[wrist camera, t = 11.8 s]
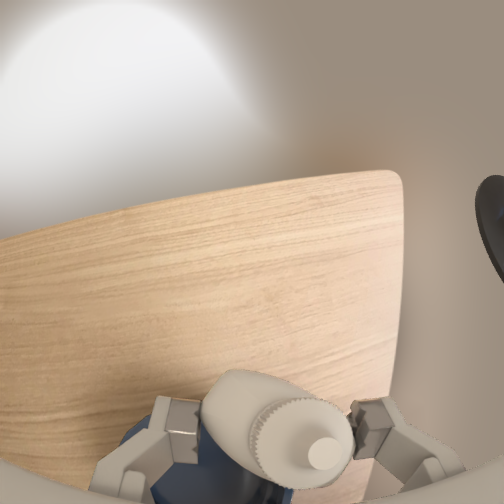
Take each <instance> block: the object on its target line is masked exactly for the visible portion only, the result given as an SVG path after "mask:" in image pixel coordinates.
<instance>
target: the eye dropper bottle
mask: <svg viewBox="0 0 504 504" xmlns="http://www.w3.org/2000/svg"><path fill="white" fill-rule="evenodd" d="M200 420H201V421H202V423H203V425H204V427H205V428H206V430H207V431H208V433H209V434H210V436H211V437H212V438H213V440H214V441H215V442H216V443H217V444H218V445H219V447H220V448H221V449H222V450H223V451H224V452H225V453H226V454H227V455H228V456H230V457H231V458H232V459H233V460H234V461H236V462H237V463H238V464H240V465H241V466H242V467H244V468H245V469H247V470H249V471H250V472H252V473H254V474H256V475H258V476H260V477H262V478H264V479H267V480H269V481H272V482H274V483H277V484H278V485H279V486H283V487H284V488H285V487H287V488H288V489H291V488H292V489H293V490H295V489H298V490H301V489H303V490H305V489H307V488H308V489H311V488H323V487H326V486H329V485H331V484H333V483H334V482H335V481H336V480H337V479H338V478H339V476H340V475H341V474H342V472H343V471H344V469H345V468H346V466H347V465H348V463H349V461H350V460H351V458H352V456H353V454H354V451H355V447H356V444H355V439H354V436H353V435H352V433H353V431H351V429H352V427H350V423H349V422H348V419H346V415H343V411H340V409H339V408H336V405H332V403H328V401H323V399H319V398H318V397H316V396H315V395H313V394H311V393H310V392H308V391H307V390H305V389H303V388H301V387H299V386H297V385H295V384H293V383H290V382H288V381H285V380H283V379H280V378H277V377H274V376H271V375H267V374H264V373H259V372H255V371H249V370H241V369H233V370H228V371H226V372H225V373H223V374H222V375H221V376H220V377H219V379H218V380H217V381H216V382H215V384H214V385H213V386H212V388H211V389H210V391H209V392H208V393H207V395H206V396H205V398H204V399H203V401H202V402H201V405H200Z"/></svg>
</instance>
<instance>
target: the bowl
mask: <svg viewBox="0 0 504 504" xmlns="http://www.w3.org/2000/svg"><path fill="white" fill-rule="evenodd" d="M151 415H152V414H151ZM151 415H148V416H146V417H145V418H144V419H142V420H141V421H140V422H139V423H138V424H136V425H135V426H134V427H133V428H131V429H130V430H129V431H128V432H127V433H126V434H125V436H124V438H123V440H122V441H121V443H120V445H122V444H123V443H125V442H126V441H127V440H129V439H130V438H131V437H133V436H134V435H135V434H137V433H138V432H139V431H141V430H142V429H143V428H145V429H148V426H149V422H150V418H151ZM120 445H119V446H120ZM119 446H118V447H119ZM150 491H151V494H152V496H153V499H154V502H155V504H291V502H292V497H293V492H294V490H293V489H292V488H291V489H288V488H287V487H285V488H284V487H283V486H279V485H278V484H277V483H274V482H272V481H269V480H267V479H264V478H262V477H260V476H258V475H256V474H254V473H252V472H250V471H249V470H247V469H245V468H244V467H242V466H241V465H240V464H238V463H237V462H236V461H234V460H233V459H232V458H231V457H230V456H228V455H227V454H226V453H225V452H224V451H223V450H222V449H221V448H220V447H219V445H218V444H217V443H216V442H215V441H214V440H213V438H212V437H211V436H210V434H209V433H208V431H207V430H206V428H205V427H204V425H203V423H202V421H201V435H200V441H199V458H198V464H188V463H176V462H173V465H172V466H171V467H170V468H169V469H168V470H167V471H166V472H165V473H164V474H163V475H162V476H161V477H160V478H159V479H158V480H157V481H156V482H155V483H154V485H153V486H152V487H151V488H150Z"/></svg>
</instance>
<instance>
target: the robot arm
mask: <svg viewBox="0 0 504 504" xmlns="http://www.w3.org/2000/svg"><path fill="white" fill-rule="evenodd" d="M200 405H201V401H200V400H192V399H184V398H176V397H166V396H160V395H158V396H157V397H156V400H155V403H154V407H153V411H152V415H151V418H150V422H149V426H148V429H145V428H143V429H142V430H141V431H139V432H138V433H137V434H135V435H134V436H133V437H131V438H130V439H129V440H127V441H126V442H125V443H123V444H122V445H120V446H119V447H118V448H116V449H115V450H114V451H112V452H111V453H109V454H108V455H107V456H105V457H104V458H102V459H101V460H99V461H98V462H97V465H96V468H95V471H94V474H93V477H92V480H91V483H90V486H89V489H88V490H85V489H81V488H78V487H75V486H72V485H69V484H66V483H63V482H60V481H57V480H54V479H51V478H48V477H46V476H43V475H40V474H38V473H35V472H33V471H30V470H28V469H26V468H23V467H21V466H19V465H16V464H14V463H12V462H10V461H7V460H5V459H3V458H1V457H0V504H155V502H154V499H153V496H152V494H151V491H150V488H151V487H152V486H153V485H154V483H155V482H156V481H157V480H158V479H159V478H160V477H161V476H162V475H163V474H164V473H165V472H166V471H167V470H168V469H169V468H170V467H171V466H172V465H173V462H176V463H188V464H198V458H199V441H200V435H201V420H200ZM350 409H351V411H352V412H351V413H349V414H348V415H347V417H346V419H348V422H349V423H350V427H352V429H351V431H353V433H352V435H353V436H354V439H355V444H356V447H355V451H354V454H353V459H354V460H359V459H366V458H374V457H375V458H374V459H376V460H377V461H378V462H379V463H380V464H381V465H382V466H384V467H385V468H386V469H387V470H388V471H389V472H390V473H392V474H393V475H394V476H395V477H396V478H398V479H399V480H400V481H401V482H402V483H403V484H404V486H403V487H402V488H401V490H400V491H399V492H398V493H397V494H394V495H391V496H386V497H382V498H378V499H373V500H368V501H363V502H358V503H352V504H504V454H503V455H501V456H499V457H497V458H495V459H493V460H490V461H488V462H486V463H484V464H482V465H480V466H477V467H475V468H472V469H470V470H467V471H466V470H465V467H464V465H463V464H462V462H461V460H460V459H459V457H458V455H457V453H456V452H455V450H454V449H452V448H450V447H449V446H447V445H445V444H444V443H442V442H440V441H438V440H437V439H434V438H433V437H431V436H430V435H428V434H426V433H425V432H423V431H421V430H420V429H418V428H416V427H415V426H413V425H411V424H408V425H407V423H406V421H405V419H404V418H403V416H402V414H401V412H400V411H399V408H398V407H397V405H396V403H395V401H394V399H393V398H392V397H390V396H388V397H380V398H372V399H362V400H354V401H353V402H352V404H351V407H350Z"/></svg>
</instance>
